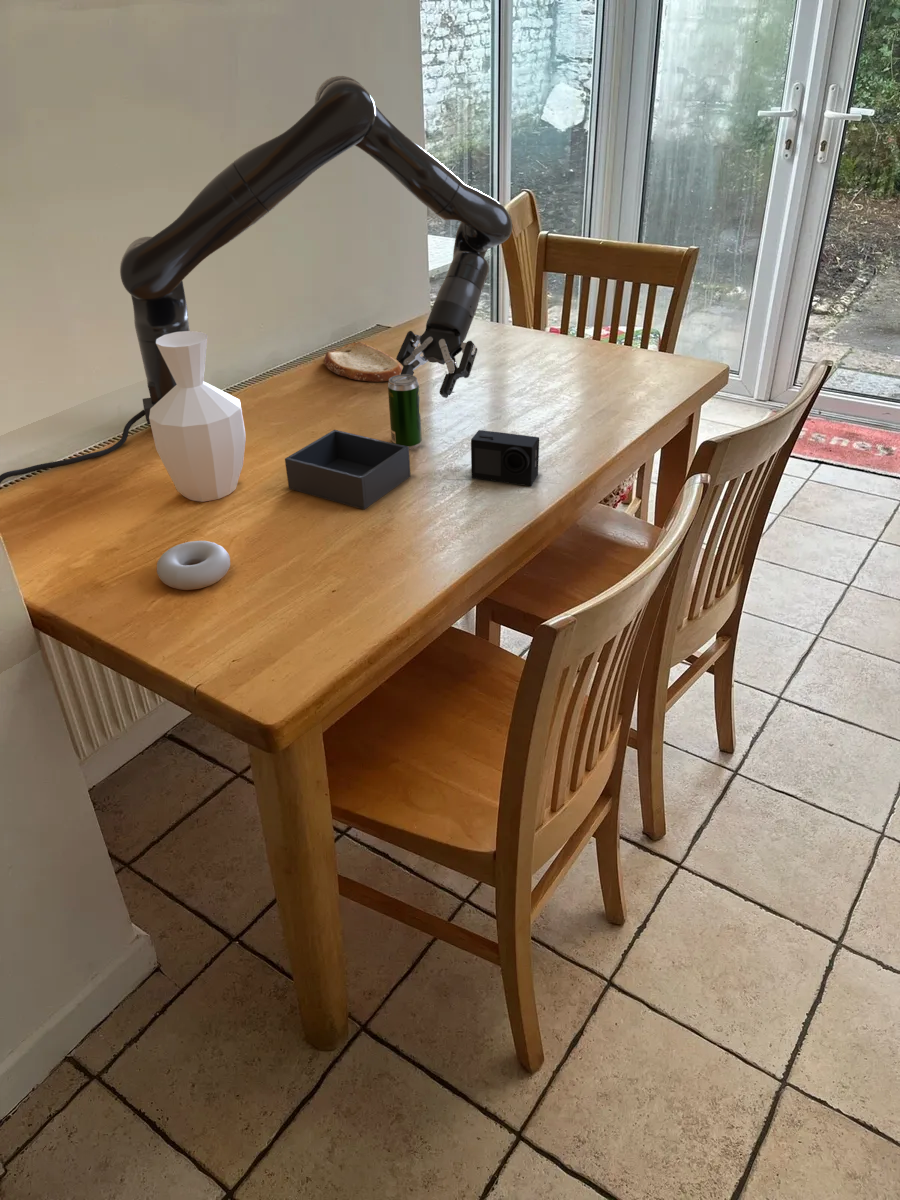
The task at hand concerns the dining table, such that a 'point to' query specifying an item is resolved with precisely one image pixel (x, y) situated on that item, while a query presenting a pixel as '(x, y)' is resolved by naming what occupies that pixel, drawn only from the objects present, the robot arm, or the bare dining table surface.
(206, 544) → the donut
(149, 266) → the robot arm
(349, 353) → the bread slice
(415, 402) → the beer can
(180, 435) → the vase
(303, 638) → the dining table surface
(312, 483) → the open rectangular tray
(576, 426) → the dining table surface
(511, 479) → the digital camera
